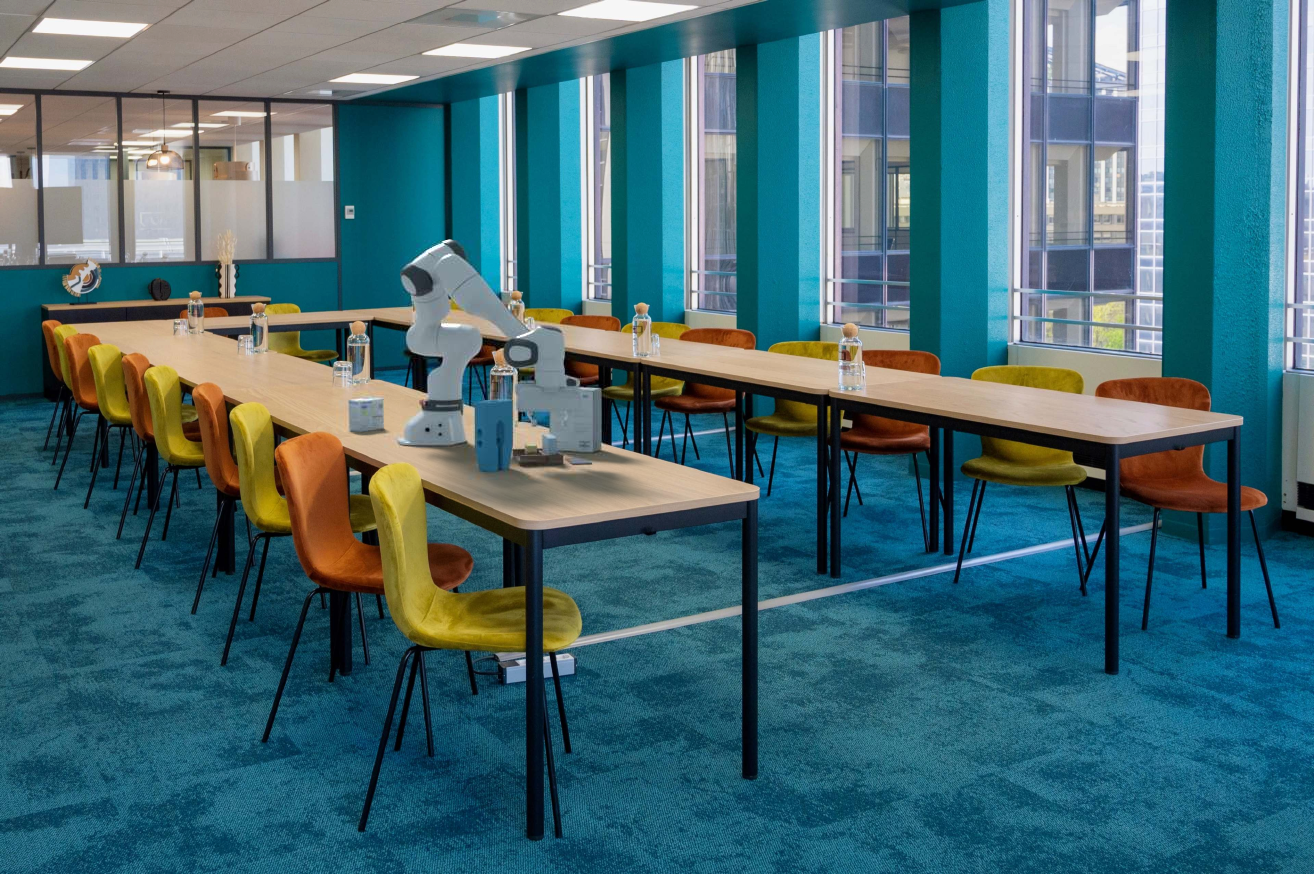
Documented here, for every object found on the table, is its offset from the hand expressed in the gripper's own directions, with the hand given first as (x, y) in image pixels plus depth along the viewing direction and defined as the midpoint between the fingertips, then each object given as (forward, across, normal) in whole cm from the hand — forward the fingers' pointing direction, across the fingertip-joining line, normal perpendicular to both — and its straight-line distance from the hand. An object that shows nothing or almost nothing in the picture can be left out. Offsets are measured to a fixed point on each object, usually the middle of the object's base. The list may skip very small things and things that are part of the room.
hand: (549, 426), depth 375 cm
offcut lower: (+10, -4, +6) cm, 12 cm away
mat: (+11, +9, +1) cm, 14 cm away
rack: (+11, -3, +3) cm, 12 cm away
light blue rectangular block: (+10, +1, +3) cm, 10 cm away
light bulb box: (+11, -49, +78) cm, 93 cm away
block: (+12, -18, -7) cm, 22 cm away
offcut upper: (+8, -5, +6) cm, 11 cm away
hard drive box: (+11, +13, +22) cm, 28 cm away
